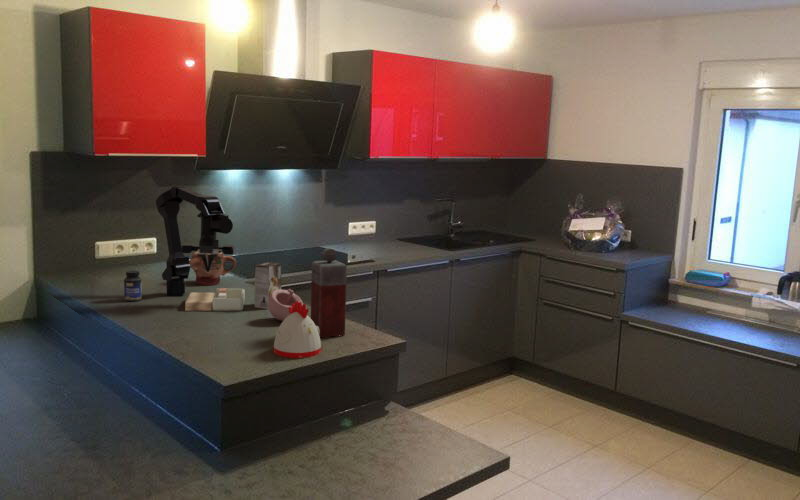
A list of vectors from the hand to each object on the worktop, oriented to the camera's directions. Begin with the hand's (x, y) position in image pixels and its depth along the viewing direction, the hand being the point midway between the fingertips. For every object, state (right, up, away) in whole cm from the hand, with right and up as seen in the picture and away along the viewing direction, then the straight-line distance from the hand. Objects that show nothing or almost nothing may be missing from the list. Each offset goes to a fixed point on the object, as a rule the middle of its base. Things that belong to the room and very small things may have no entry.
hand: (208, 271), depth 255 cm
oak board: (-2, -12, -2) cm, 13 cm away
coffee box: (+22, -13, +1) cm, 26 cm away
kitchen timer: (+42, -22, -54) cm, 72 cm away
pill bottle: (-29, -11, +1) cm, 31 cm away
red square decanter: (+48, -19, -33) cm, 61 cm away
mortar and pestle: (+32, -17, -20) cm, 41 cm away
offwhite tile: (+6, -10, -6) cm, 13 cm away
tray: (+8, -13, 0) cm, 15 cm away
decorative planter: (-9, -6, +38) cm, 40 cm away
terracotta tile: (+4, -9, +3) cm, 10 cm away
